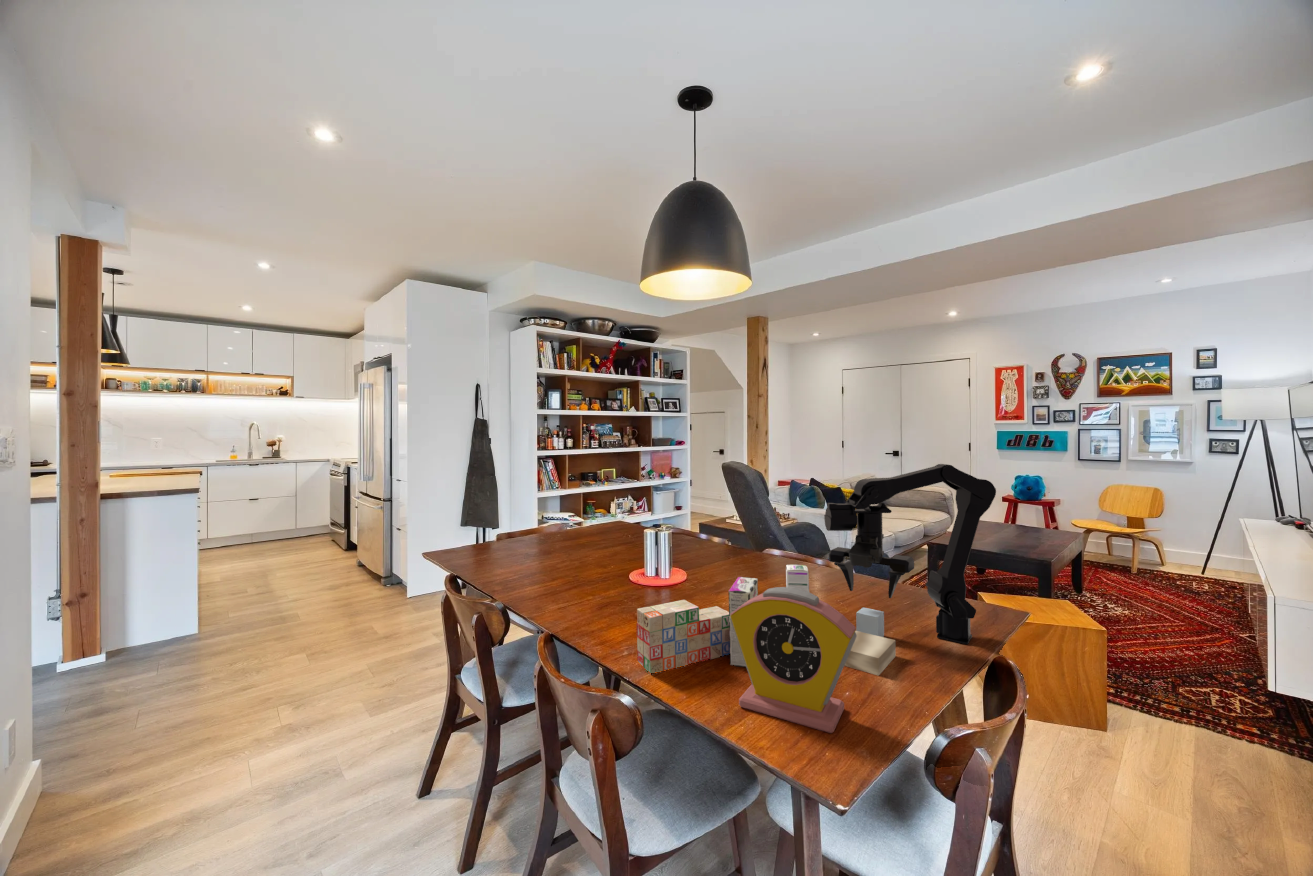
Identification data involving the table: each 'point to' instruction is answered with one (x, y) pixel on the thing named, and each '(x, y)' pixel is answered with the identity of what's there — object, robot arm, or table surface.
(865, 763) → the table surface
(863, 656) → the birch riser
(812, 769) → the table surface
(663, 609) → the stack of blocks
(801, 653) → the yellow mantel clock
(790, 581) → the syrup box
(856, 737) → the table surface
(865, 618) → the slate block
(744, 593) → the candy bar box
